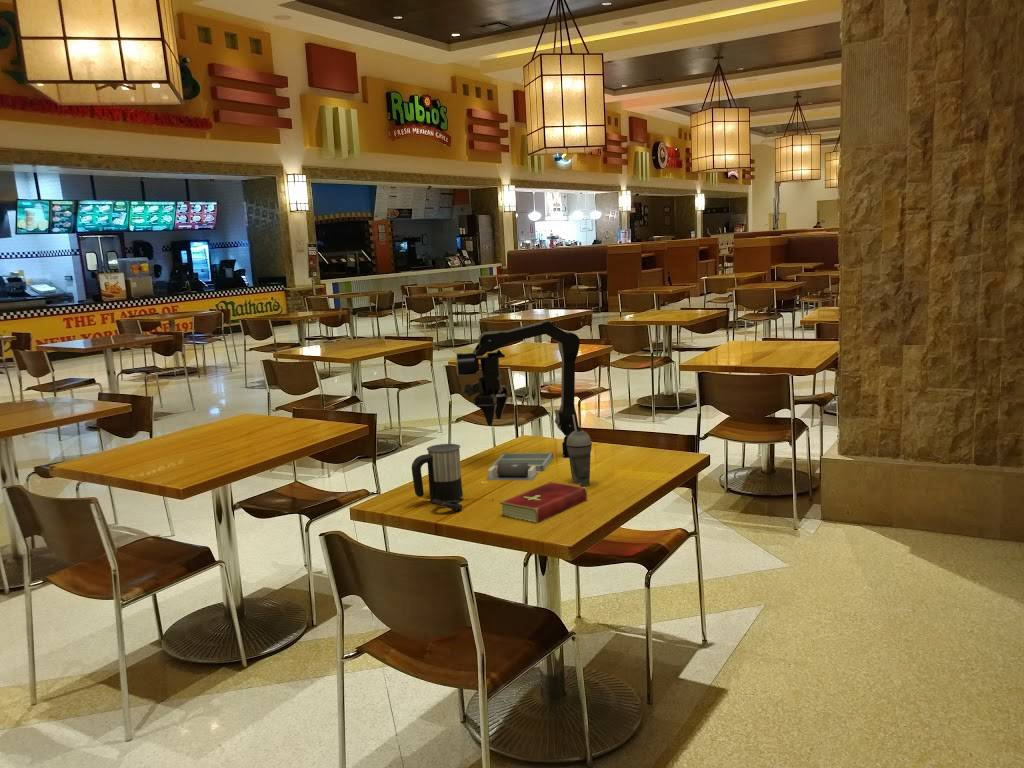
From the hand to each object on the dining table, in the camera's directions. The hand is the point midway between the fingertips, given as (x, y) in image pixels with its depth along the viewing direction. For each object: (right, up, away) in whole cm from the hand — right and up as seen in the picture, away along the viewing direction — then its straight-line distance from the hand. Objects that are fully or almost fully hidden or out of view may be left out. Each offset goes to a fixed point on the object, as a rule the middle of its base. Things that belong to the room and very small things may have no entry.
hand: (494, 422), depth 259 cm
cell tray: (+9, -14, -4) cm, 17 cm away
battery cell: (+6, -15, -17) cm, 23 cm away
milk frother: (-12, -21, -36) cm, 43 cm away
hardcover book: (+14, -21, -44) cm, 51 cm away
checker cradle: (+6, -16, -16) cm, 24 cm away
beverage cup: (+25, -17, -26) cm, 39 cm away
